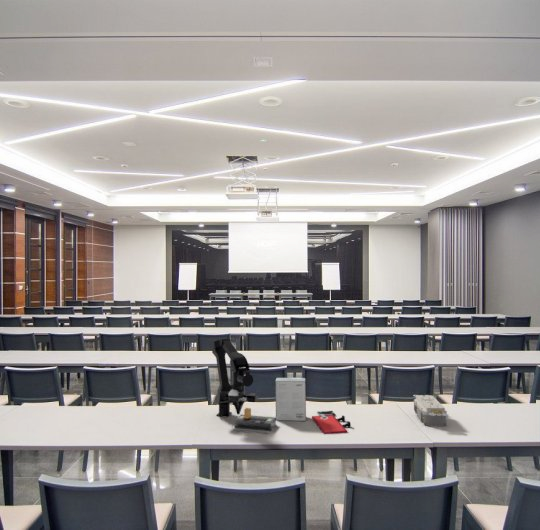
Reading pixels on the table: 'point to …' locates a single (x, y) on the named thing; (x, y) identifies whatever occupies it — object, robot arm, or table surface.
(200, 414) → the table surface
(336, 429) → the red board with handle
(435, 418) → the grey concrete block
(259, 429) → the dark grey thin bar
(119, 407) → the table surface
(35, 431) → the table surface
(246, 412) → the lever
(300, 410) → the hard drive box
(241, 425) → the strip
